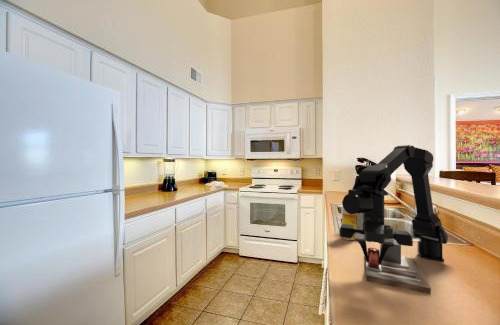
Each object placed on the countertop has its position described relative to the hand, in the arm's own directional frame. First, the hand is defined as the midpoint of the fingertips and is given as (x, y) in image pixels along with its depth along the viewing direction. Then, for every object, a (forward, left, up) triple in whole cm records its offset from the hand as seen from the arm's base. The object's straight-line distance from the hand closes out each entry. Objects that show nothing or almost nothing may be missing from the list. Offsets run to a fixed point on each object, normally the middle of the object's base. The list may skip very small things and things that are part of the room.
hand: (373, 262), depth 68 cm
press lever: (0, 0, -3) cm, 3 cm away
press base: (-5, -7, -4) cm, 10 cm away
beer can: (+9, -35, -4) cm, 36 cm away
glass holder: (+5, -47, -4) cm, 47 cm away
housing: (-5, -12, -2) cm, 13 cm away
